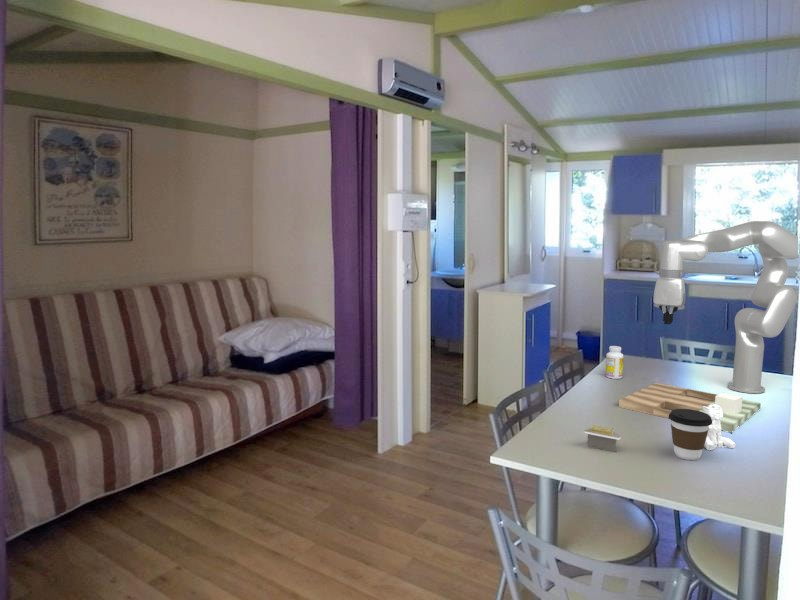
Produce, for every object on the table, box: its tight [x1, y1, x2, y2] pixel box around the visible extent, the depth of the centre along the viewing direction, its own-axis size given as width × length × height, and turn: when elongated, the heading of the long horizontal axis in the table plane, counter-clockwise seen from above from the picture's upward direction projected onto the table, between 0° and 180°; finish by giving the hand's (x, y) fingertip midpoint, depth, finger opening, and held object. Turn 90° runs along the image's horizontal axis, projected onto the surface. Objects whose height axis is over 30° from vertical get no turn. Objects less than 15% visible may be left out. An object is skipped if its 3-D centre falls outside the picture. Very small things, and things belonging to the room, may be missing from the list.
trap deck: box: [618, 382, 762, 433], centre depth 210 cm, size 32×36×2 cm
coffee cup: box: [668, 409, 712, 461], centre depth 167 cm, size 11×11×12 cm
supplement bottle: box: [605, 345, 624, 380], centre depth 250 cm, size 7×7×13 cm
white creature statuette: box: [702, 404, 737, 451], centre depth 176 cm, size 10×9×12 cm
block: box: [715, 392, 743, 415], centre depth 200 cm, size 6×6×5 cm
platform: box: [583, 424, 621, 453], centre depth 173 cm, size 12×18×7 cm, turn 58°
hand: (667, 323), depth 225 cm, fingers closed
